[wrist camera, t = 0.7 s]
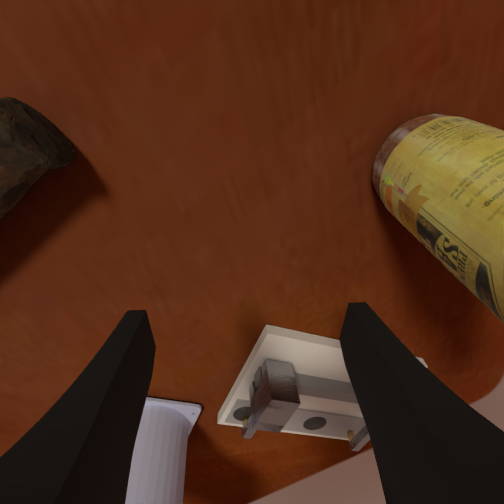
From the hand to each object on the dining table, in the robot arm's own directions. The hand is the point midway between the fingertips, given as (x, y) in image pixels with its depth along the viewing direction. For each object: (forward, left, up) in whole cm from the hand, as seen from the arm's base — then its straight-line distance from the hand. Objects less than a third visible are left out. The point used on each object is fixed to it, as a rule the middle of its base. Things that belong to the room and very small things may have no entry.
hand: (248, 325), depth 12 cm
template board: (-16, -14, -11) cm, 24 cm away
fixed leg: (-16, -8, -9) cm, 20 cm away
